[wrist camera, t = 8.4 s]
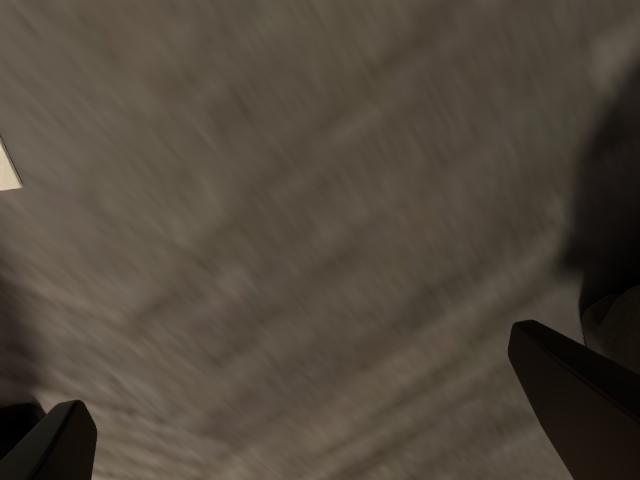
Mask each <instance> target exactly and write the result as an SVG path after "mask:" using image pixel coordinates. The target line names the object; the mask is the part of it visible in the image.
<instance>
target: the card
mask: <svg viewBox="0 0 640 480" xmlns="http://www.w3.org/2000/svg"><path fill="white" fill-rule="evenodd" d="M22 186H23V185H22V183H21V180H20V178H19V176H18V174H17V172H16V170H15V167H14V165H13V163H12V161H11V159H10V157H9V154H8V152H7V150H6V148H5V146H4V144H3V141H2V139H1V137H0V191H1V190H8V189H16V188H21V187H22Z"/></svg>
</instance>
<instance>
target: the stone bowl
mask: <svg viewBox="0 0 640 480" xmlns="http://www.w3.org/2000/svg"><path fill="white" fill-rule="evenodd" d="M582 325H583V332H584V336H585V340H586V344H587V348H589V349H591V350H593V351H595V352H597V353H599V354H601V355H603V356H605V357H607V358H608V359H610V360H612V361H614V362H616V363H618V364H620V365H622V366H624V367H626V368H628V369H630V370H632V371H633V372H635V373H637V374H639V375H640V285H637V286H635V287H632V288H629V289H627V290H626V291H625V292H624V293H623V294H622V295H616V294H610V295H607V296H605V297H603V298H602V299H601V300H599V301H598V302H596V303H594V304H593V305H591V306H590V307H588V308H587V309H586V310H585V312H584V314H583V316H582Z"/></svg>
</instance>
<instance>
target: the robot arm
mask: <svg viewBox="0 0 640 480" xmlns="http://www.w3.org/2000/svg"><path fill="white" fill-rule="evenodd" d="M508 357H509V360H510V362H511V364H512V366H513V369H514V371H515V373H516V375H517V377H518V379H519V381H520V383H521V385H522V387H523V389H524V391H525V394H526V396H527V398H528V400H529V402H530V404H531V406H532V408H533V410H534V412H535V414H536V416H537V418H538V420H539V422H540V424H541V426H542V428H543V429H544V431H545V433H546V435H547V436H548V438H549V440H550V441H551V443H552V445H553V446H554V448H555V449H556V451H557V453H558V454H559V456H560V458H561V459H562V461H563V463H564V464H565V466H566V467H567V469H568V471H569V472H570V474H571V476H572V477H573V479H574V480H640V375H639V374H637V373H635V372H633V371H632V370H630V369H628V368H626V367H624V366H622V365H620V364H618V363H616V362H614V361H612V360H610V359H608V358H607V357H605V356H603V355H601V354H599V353H597V352H595V351H593V350H591V349H589V348H587V347H585V346H584V345H582V344H580V343H578V342H576V341H574V340H572V339H570V338H568V337H566V336H564V335H562V334H561V333H559V332H557V331H555V330H553V329H551V328H549V327H547V326H545V325H543V324H541V323H539V322H537V321H535V320H524V321H519V322H515V323H514V324H513V325H512V329H511V334H510V340H509V345H508ZM96 441H97V428H96V425H95V423H94V421H93V419H92V417H91V415H90V413H89V411H88V410H87V408H86V406H85V404H84V403H83V402H82V401H81V400H72V401H67V402H61V403H59V404H57V405H56V406H55V407H53V408H52V409H51V410H50V411H49V413H48V414H47V415H46V416H45V417H44V416H43V414H42V412H41V411H40V409H39V408H38V407H37V406H35V405H33V404H24V405H18V406H13V407H7V408H1V409H0V480H91V478H92V470H93V463H94V456H95V449H96Z"/></svg>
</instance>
